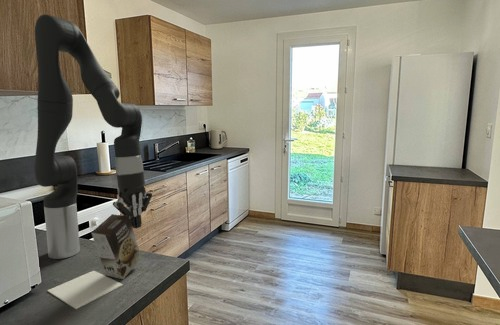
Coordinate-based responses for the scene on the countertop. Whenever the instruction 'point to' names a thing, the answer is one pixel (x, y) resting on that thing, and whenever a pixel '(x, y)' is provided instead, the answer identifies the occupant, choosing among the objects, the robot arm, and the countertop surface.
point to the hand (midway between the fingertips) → (136, 227)
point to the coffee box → (117, 245)
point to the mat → (84, 289)
